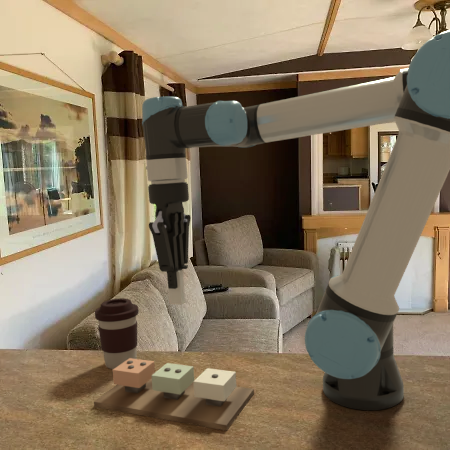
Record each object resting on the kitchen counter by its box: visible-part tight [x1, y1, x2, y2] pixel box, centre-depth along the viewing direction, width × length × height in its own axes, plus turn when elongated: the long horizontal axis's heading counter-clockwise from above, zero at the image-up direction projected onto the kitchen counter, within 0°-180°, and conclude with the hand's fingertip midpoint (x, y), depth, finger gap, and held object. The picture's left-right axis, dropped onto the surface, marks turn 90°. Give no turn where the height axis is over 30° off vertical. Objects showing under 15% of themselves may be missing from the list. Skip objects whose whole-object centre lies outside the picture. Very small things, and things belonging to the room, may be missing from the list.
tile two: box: [152, 362, 195, 394], centre depth 94 cm, size 6×6×3 cm
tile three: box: [112, 358, 156, 388], centre depth 98 cm, size 6×6×3 cm
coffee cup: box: [94, 297, 140, 370], centre depth 113 cm, size 10×10×15 cm
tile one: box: [194, 367, 237, 401], centre depth 91 cm, size 6×6×3 cm
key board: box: [93, 378, 255, 431], centre depth 95 cm, size 28×14×2 cm, turn 67°
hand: (177, 303), depth 94 cm, fingers closed
